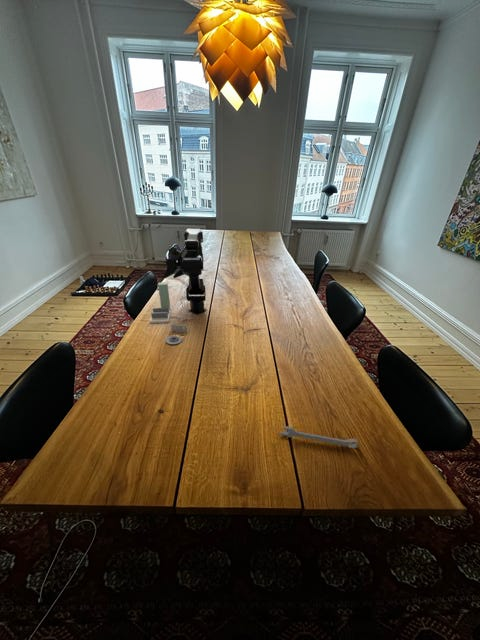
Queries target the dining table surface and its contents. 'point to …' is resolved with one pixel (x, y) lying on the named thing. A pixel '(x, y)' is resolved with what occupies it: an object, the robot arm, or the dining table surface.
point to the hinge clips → (160, 315)
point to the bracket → (177, 339)
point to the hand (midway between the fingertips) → (169, 277)
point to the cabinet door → (164, 295)
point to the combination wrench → (318, 437)
